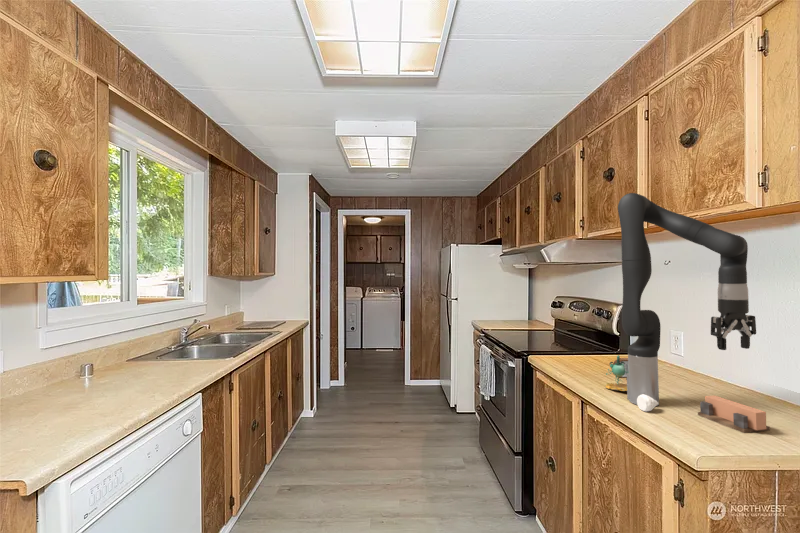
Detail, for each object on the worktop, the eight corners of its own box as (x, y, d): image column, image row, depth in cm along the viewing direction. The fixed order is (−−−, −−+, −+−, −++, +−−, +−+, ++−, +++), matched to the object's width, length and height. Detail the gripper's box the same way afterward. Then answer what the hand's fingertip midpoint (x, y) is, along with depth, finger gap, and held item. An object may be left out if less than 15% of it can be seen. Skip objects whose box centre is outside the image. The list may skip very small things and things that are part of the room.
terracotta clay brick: (756, 430, 118) (755, 412, 118) (705, 411, 133) (705, 396, 133) (766, 429, 118) (765, 411, 118) (714, 410, 134) (714, 395, 134)
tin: (648, 376, 179) (648, 357, 179) (651, 378, 176) (651, 359, 176) (612, 376, 182) (611, 357, 182) (614, 378, 179) (614, 359, 179)
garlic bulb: (663, 412, 136) (663, 396, 136) (648, 413, 135) (647, 397, 135) (650, 406, 142) (650, 391, 142) (635, 408, 140) (635, 392, 141)
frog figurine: (618, 397, 153) (614, 357, 154) (598, 388, 171) (595, 353, 172) (644, 397, 152) (640, 357, 154) (622, 388, 170) (619, 352, 171)
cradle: (697, 415, 133) (697, 401, 133) (721, 412, 135) (720, 399, 135) (744, 433, 118) (743, 417, 118) (769, 430, 120) (769, 414, 120)
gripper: (724, 299, 123) (725, 352, 123) (764, 297, 126) (765, 350, 126) (702, 297, 131) (703, 347, 131) (740, 296, 133) (741, 345, 133)
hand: (733, 348), depth 128 cm, fingers open, 8 cm apart
